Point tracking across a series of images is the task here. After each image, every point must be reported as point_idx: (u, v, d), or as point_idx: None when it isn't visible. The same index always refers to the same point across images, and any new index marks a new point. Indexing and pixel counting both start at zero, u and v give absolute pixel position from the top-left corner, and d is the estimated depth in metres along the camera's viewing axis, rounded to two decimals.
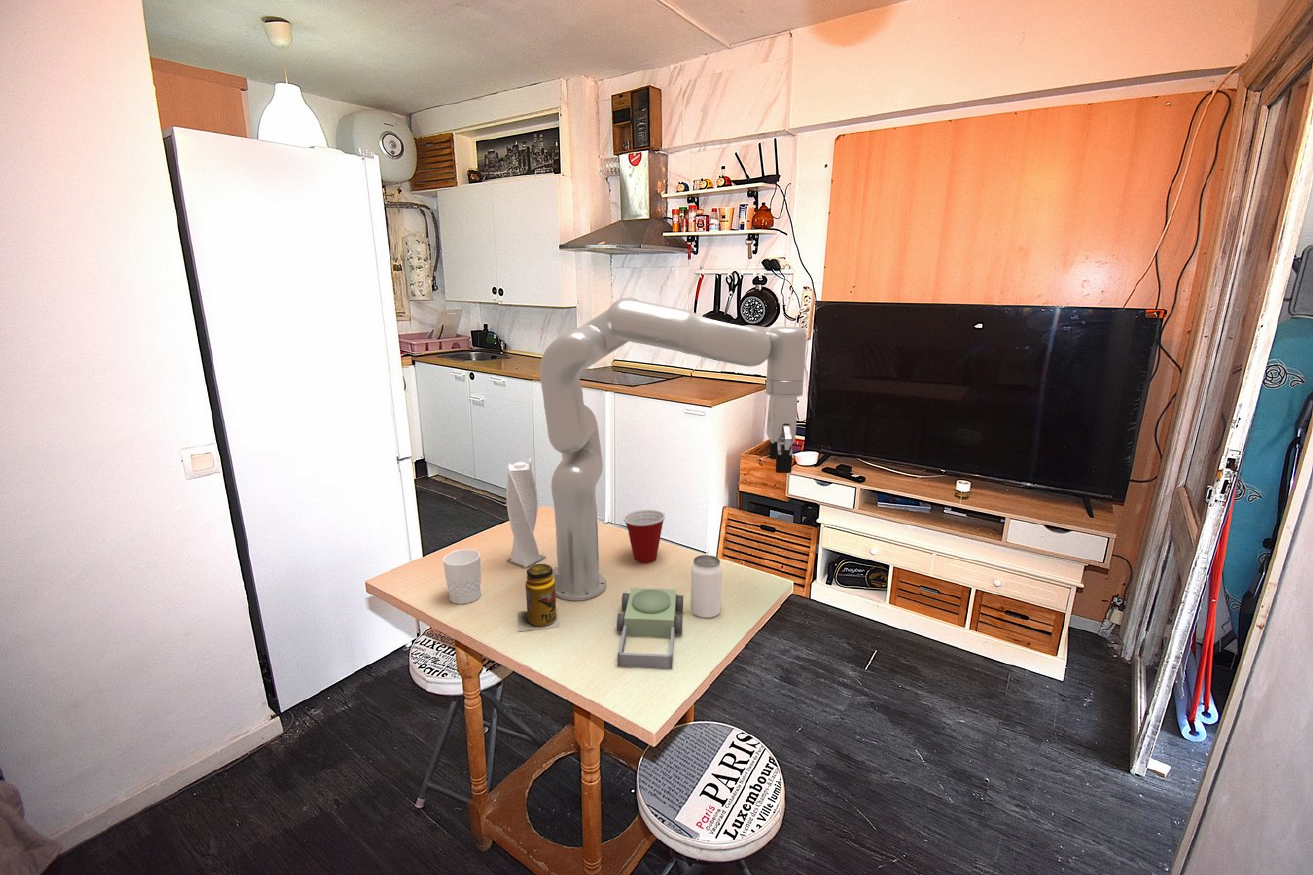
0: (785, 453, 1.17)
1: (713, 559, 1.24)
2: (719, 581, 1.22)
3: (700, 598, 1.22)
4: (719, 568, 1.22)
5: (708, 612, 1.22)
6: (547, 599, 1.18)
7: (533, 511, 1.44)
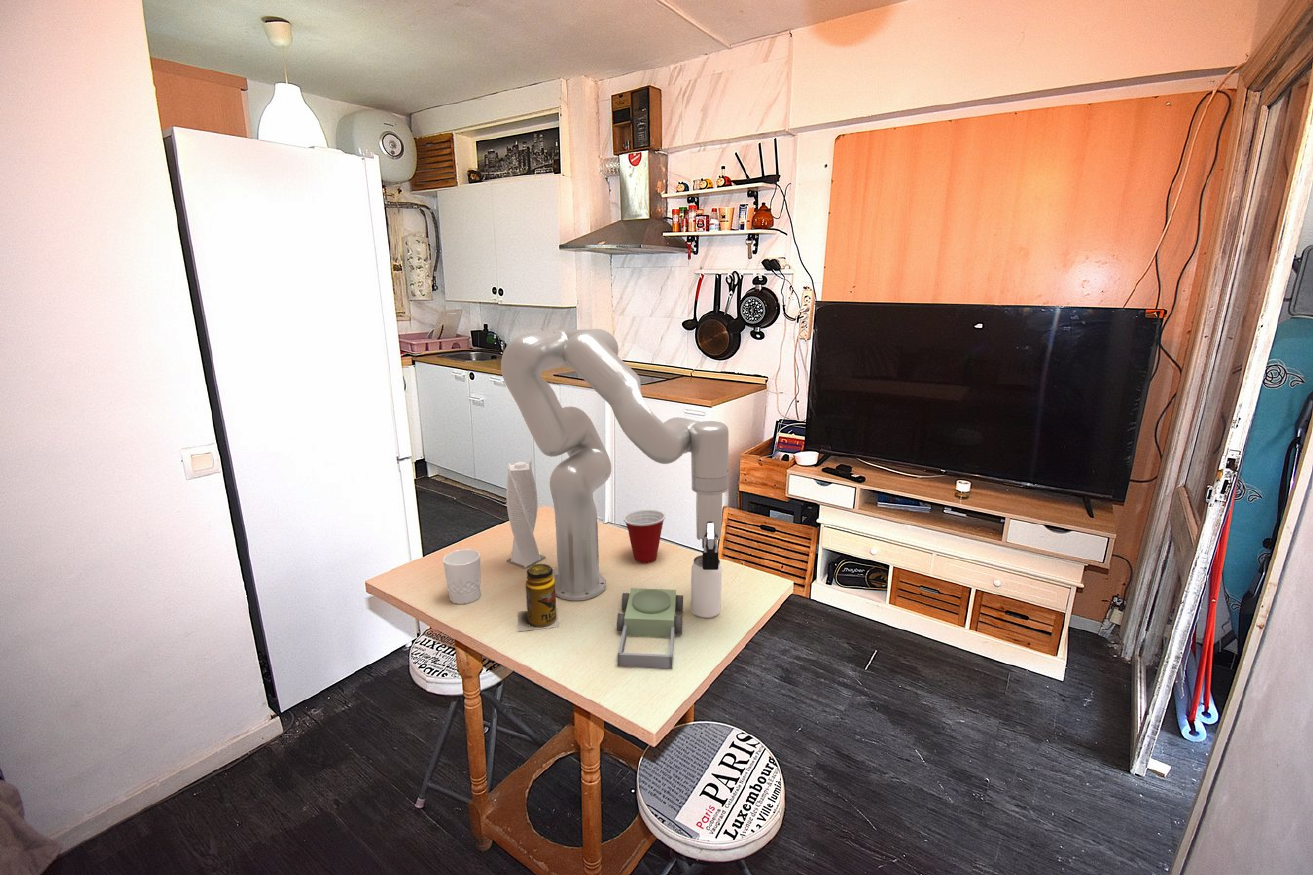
0: (710, 551, 1.15)
1: None
2: (719, 581, 1.22)
3: (700, 598, 1.22)
4: (719, 568, 1.22)
5: (708, 612, 1.22)
6: (547, 599, 1.18)
7: (533, 511, 1.44)
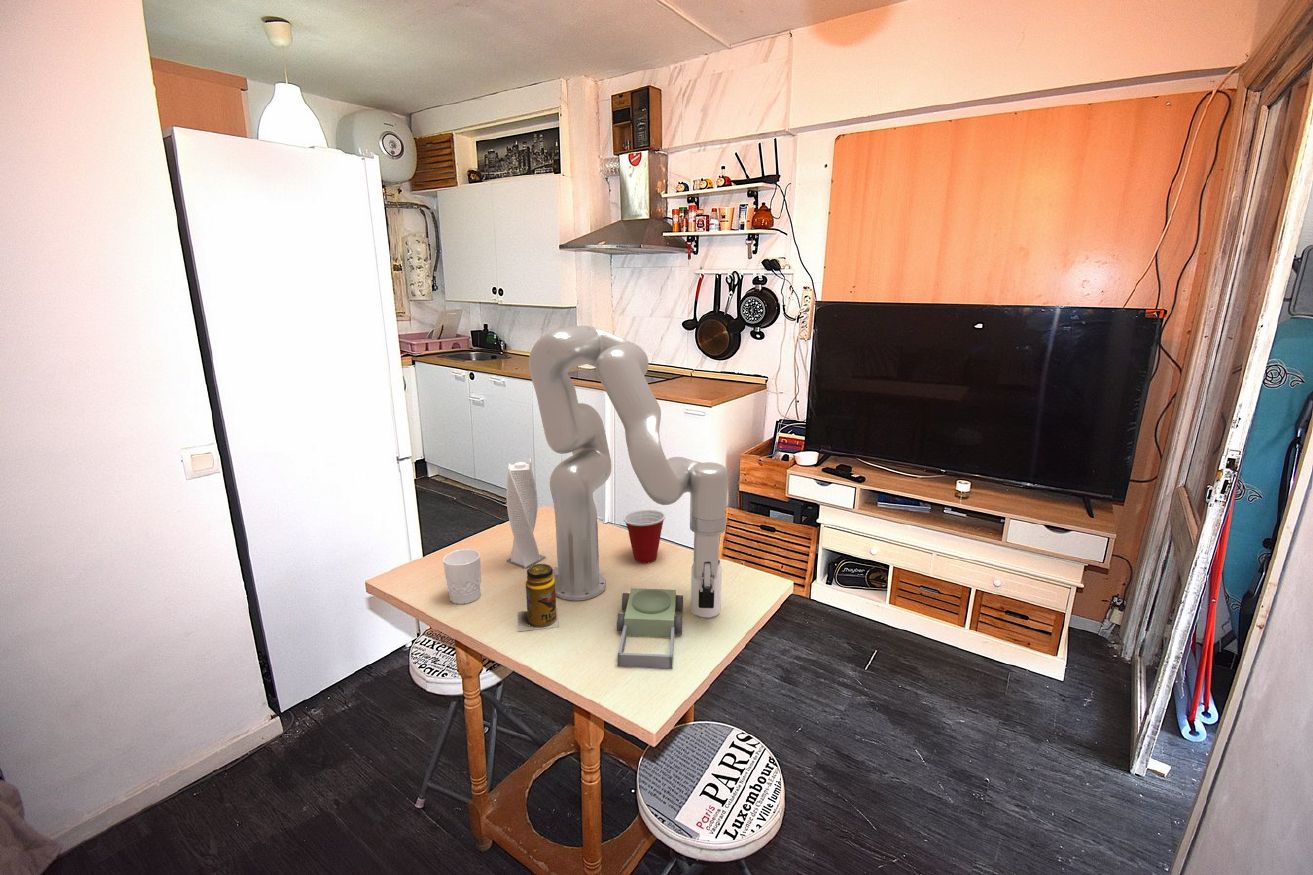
0: (706, 591, 1.19)
1: None
2: (719, 581, 1.22)
3: None
4: (719, 568, 1.22)
5: (708, 611, 1.22)
6: (547, 599, 1.18)
7: (533, 511, 1.44)
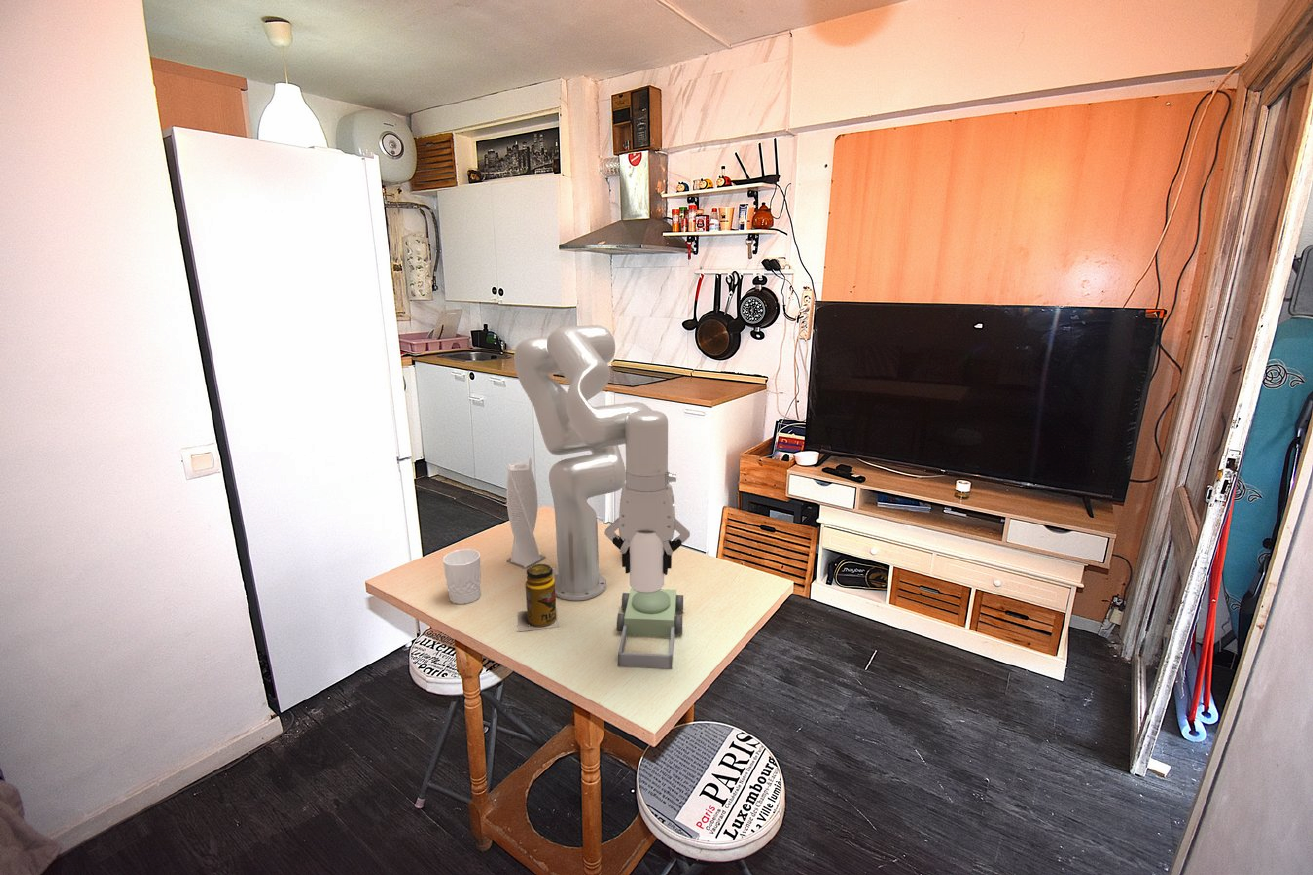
0: None
1: None
2: (636, 552, 1.04)
3: None
4: (638, 537, 1.03)
5: None
6: (547, 599, 1.18)
7: (533, 511, 1.44)
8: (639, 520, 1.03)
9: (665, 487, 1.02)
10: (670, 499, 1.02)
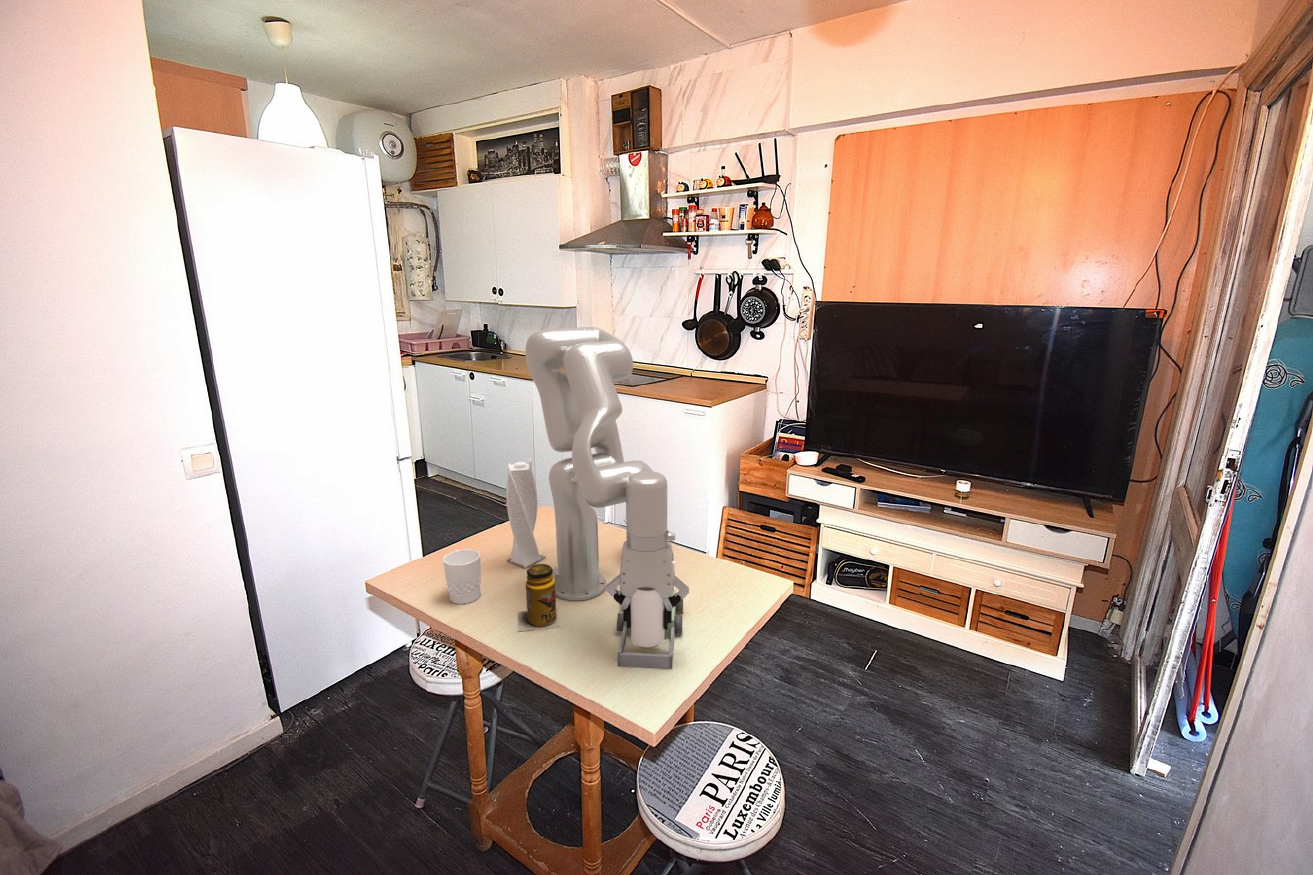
0: None
1: None
2: (637, 608, 1.06)
3: None
4: (639, 595, 1.06)
5: None
6: (547, 599, 1.18)
7: (533, 511, 1.44)
8: (639, 578, 1.05)
9: (665, 546, 1.04)
10: (669, 558, 1.05)
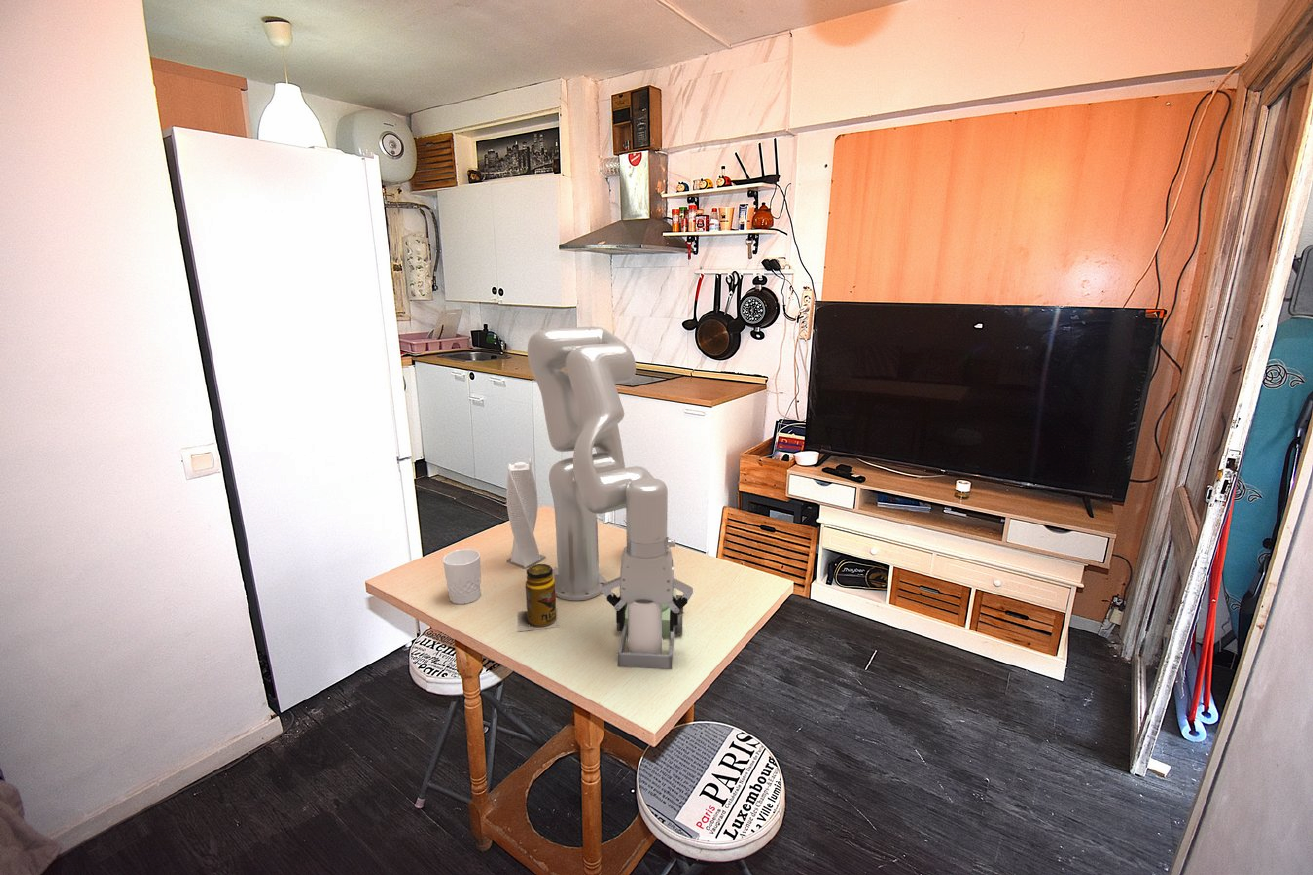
0: None
1: None
2: (634, 621, 1.07)
3: None
4: (637, 607, 1.07)
5: None
6: (547, 599, 1.18)
7: (533, 511, 1.44)
8: (639, 584, 1.06)
9: (664, 553, 1.05)
10: (669, 564, 1.05)
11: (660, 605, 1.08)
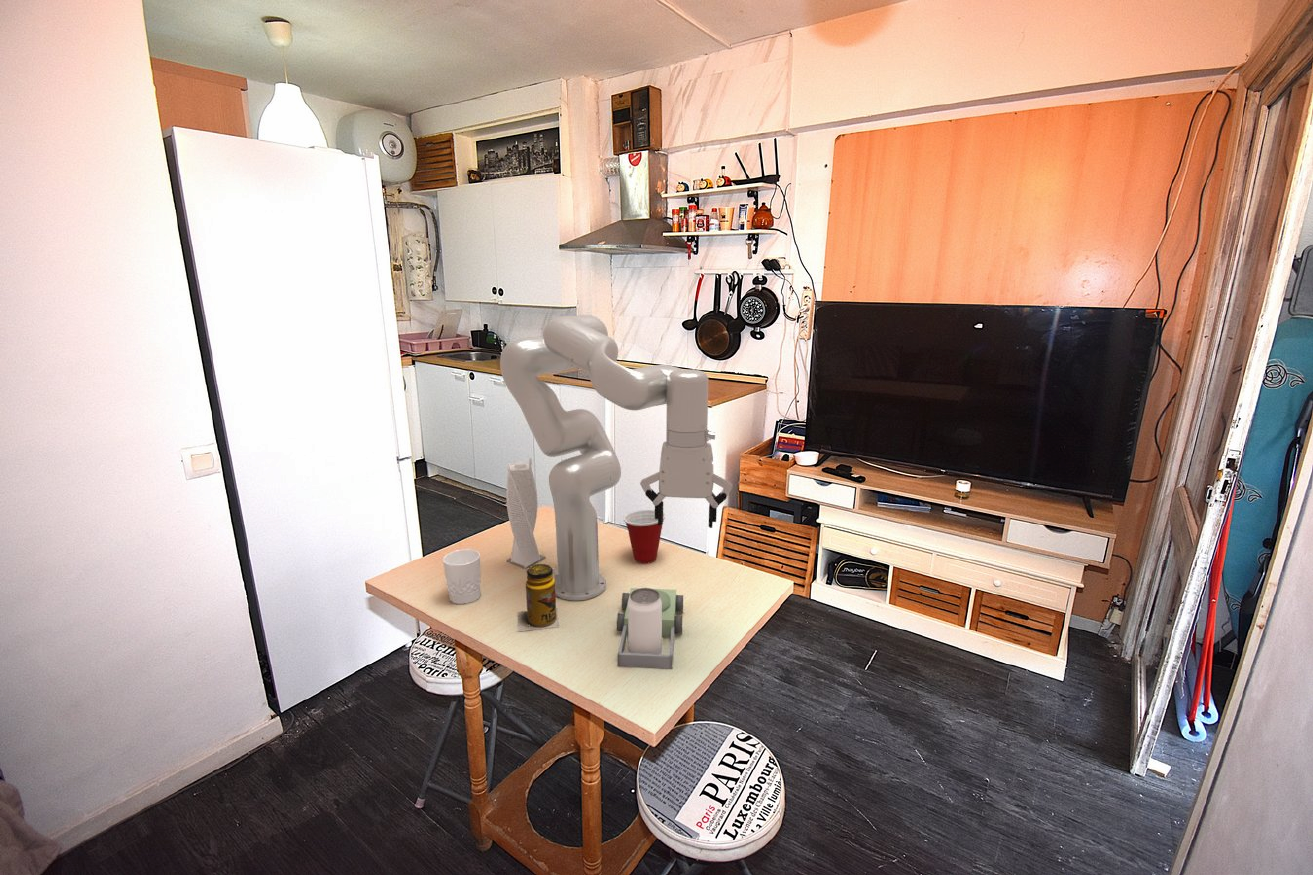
0: None
1: (650, 601, 1.08)
2: (634, 621, 1.07)
3: None
4: (636, 607, 1.07)
5: None
6: (547, 599, 1.18)
7: (533, 511, 1.44)
8: (679, 476, 1.06)
9: (704, 444, 1.04)
10: (709, 456, 1.05)
11: (660, 605, 1.08)
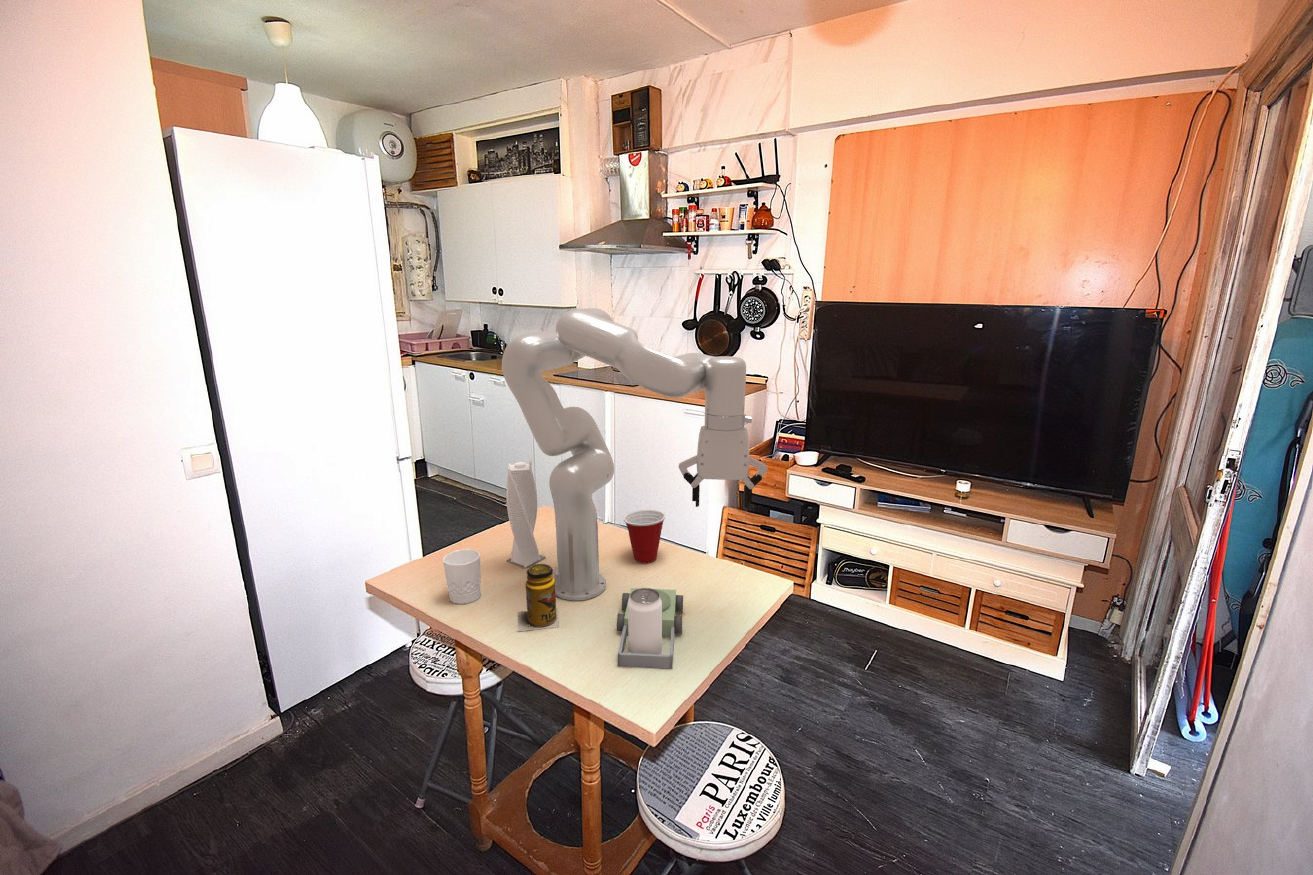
0: None
1: (650, 601, 1.08)
2: (634, 620, 1.07)
3: None
4: (637, 607, 1.07)
5: None
6: (547, 599, 1.18)
7: (533, 511, 1.44)
8: (717, 459, 1.10)
9: (742, 427, 1.09)
10: (746, 439, 1.09)
11: (660, 605, 1.08)
